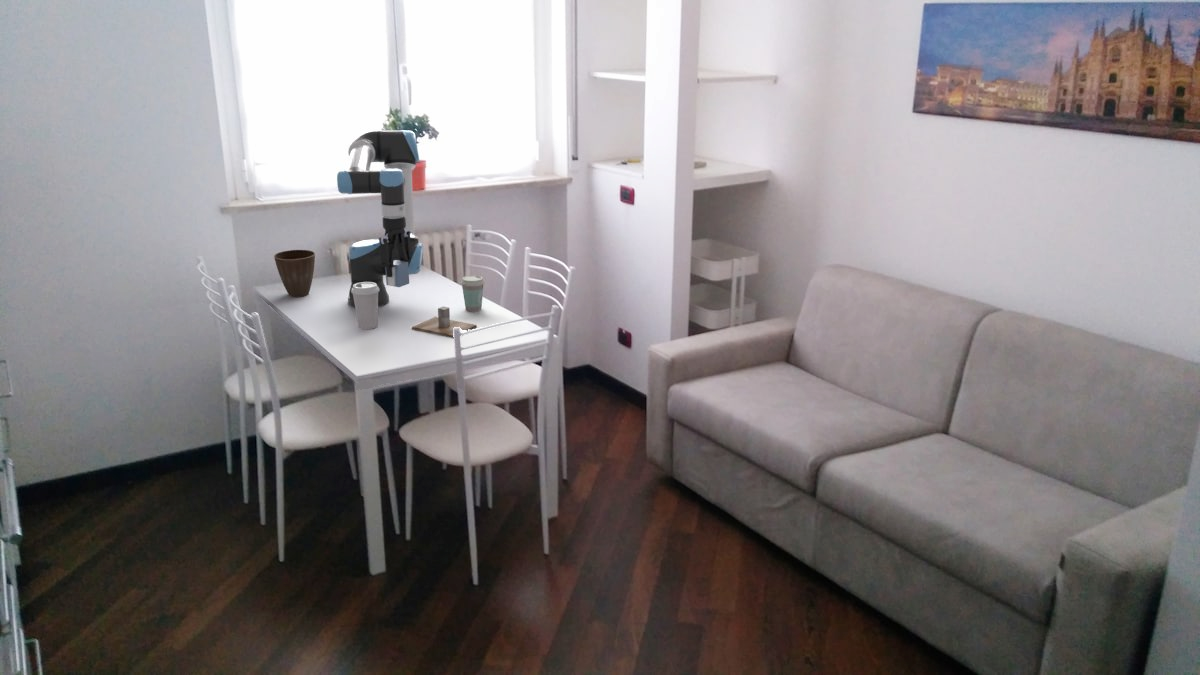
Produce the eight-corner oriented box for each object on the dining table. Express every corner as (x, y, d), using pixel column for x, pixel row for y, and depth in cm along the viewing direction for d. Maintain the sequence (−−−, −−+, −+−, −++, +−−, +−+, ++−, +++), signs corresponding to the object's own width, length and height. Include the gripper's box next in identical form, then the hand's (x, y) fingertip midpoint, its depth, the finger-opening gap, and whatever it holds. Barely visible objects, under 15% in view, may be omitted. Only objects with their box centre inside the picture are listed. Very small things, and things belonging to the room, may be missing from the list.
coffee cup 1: (358, 321, 325) (355, 280, 320) (385, 322, 325) (382, 281, 320) (350, 330, 316) (347, 288, 311) (378, 331, 316) (375, 289, 311)
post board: (412, 329, 318) (411, 308, 316) (435, 318, 329) (434, 299, 327) (454, 337, 310) (453, 317, 308) (476, 327, 321) (475, 307, 319)
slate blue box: (386, 285, 311) (385, 263, 309) (396, 281, 316) (395, 259, 313) (399, 287, 309) (397, 265, 306) (409, 283, 313) (408, 261, 311)
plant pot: (302, 302, 346) (298, 260, 341) (269, 297, 351) (265, 256, 346) (326, 291, 359) (323, 251, 354) (294, 287, 364) (291, 248, 359)
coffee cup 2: (480, 313, 336) (479, 282, 332) (458, 311, 338) (457, 280, 334) (488, 306, 344) (487, 275, 340) (466, 305, 345) (465, 274, 342)
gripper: (384, 222, 295) (388, 291, 303) (420, 212, 310) (423, 278, 318) (366, 220, 298) (371, 288, 306) (402, 210, 314) (406, 275, 321)
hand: (397, 283), depth 312 cm, fingers closed on slate blue box, 5 cm apart
